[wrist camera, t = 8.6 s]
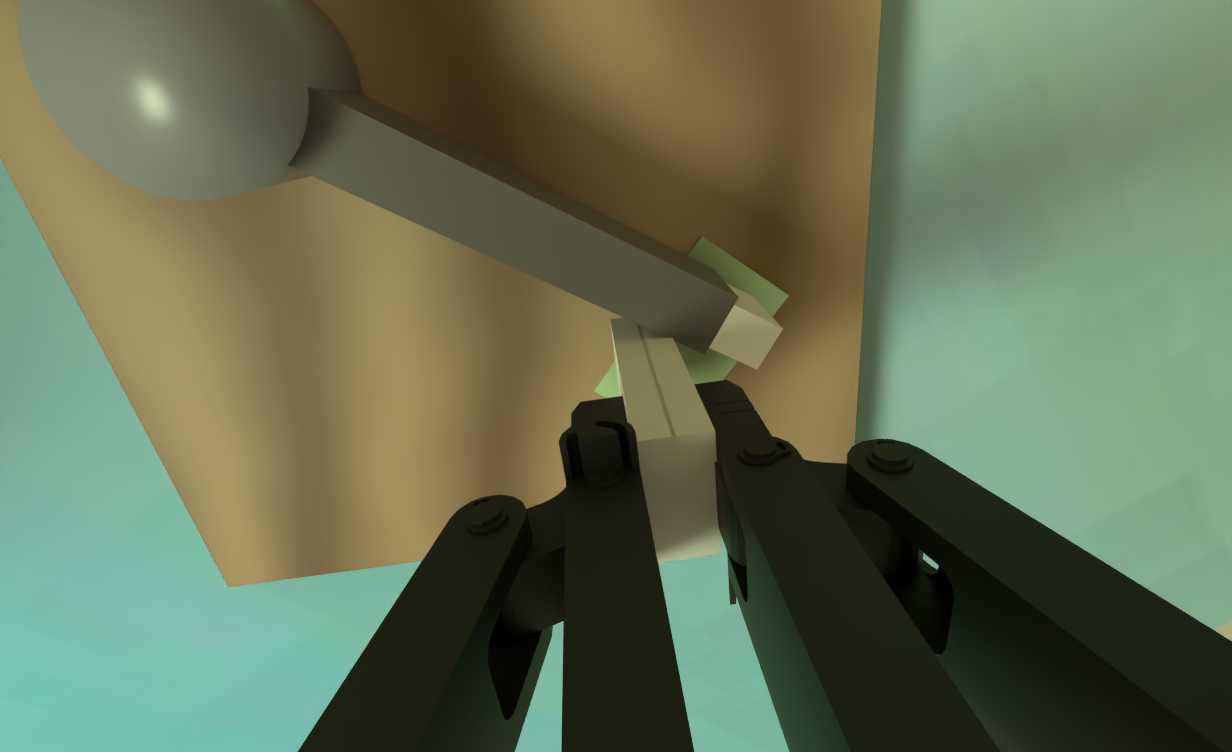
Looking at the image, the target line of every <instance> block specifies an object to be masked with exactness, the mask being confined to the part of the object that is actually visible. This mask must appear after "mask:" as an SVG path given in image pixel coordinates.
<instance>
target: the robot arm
mask: <svg viewBox="0 0 1232 752" xmlns="http://www.w3.org/2000/svg"><path fill="white" fill-rule="evenodd" d="M610 324H611V331H612V339H613V347H614V354H615V362H616V369H617V377H618V385H619V392H620V396H618V397H611V398H604V399H596V400H589V401H582V402H580V403H579V404H578V405H577V407H576V408H575V409H574V411H573V412H572V413H571V427H569V428H568V429H567V430H566V431H565V432H564V433H562V435H561V437H560V440H559V447H560V452H561V458H562V463H563V468H564V474H565V479H566V487H565V488H564V489H563V490H562V491H561V492H560V493H559V494H558V495H556V496H555V497H553V498H552V499H550V500H548V501H546V502H543V503H541V504H539V505H536V506H533V507H530V508H527V509H526V508H525V506H524V504H523V502H522V501H520V500H519V499H517V498H515V497H513V496H507V495H493V496H485V497H482V498H480V499H476V500H474V501H471V502H469V503H468V504H466V505H465V506H463V507H461V508H460V509H458V510H457V511H456V513H455V514H454V515H453V516H452V517H451V518H450V519H449V521H448V522H447V524H446V525H445V527H444V528H443V530H442V531H441V533H440V534H439V536H438V537H437V539H436V541H435V542H434V544H433V545H432V547H431V548H430V550H429V551H428V553H427V554H426V556H425V557H424V559H423V560H422V562H421V564H420V565H419V567H418V568H417V570H416V571H415V573H414V574H413V576H412V577H411V579H410V580H409V582H408V584H407V585H406V587H405V588H404V590H403V591H402V593H401V594H400V596H399V597H398V599H397V600H396V602H395V603H394V605H393V607H392V608H391V610H390V611H389V613H388V614H387V616H386V617H385V619H384V620H383V622H382V623H381V625H380V626H379V628H378V630H377V631H376V633H375V634H374V636H373V637H372V639H371V640H370V642H369V643H368V645H367V646H366V648H365V649H364V651H363V653H362V654H361V656H360V657H359V659H358V660H357V662H356V663H355V665H354V666H353V668H352V669H351V671H350V672H349V674H348V676H347V677H346V679H345V680H344V682H343V683H342V685H341V686H340V688H339V689H338V691H337V692H336V694H335V695H334V697H333V699H332V700H331V702H330V703H329V705H328V706H327V708H326V709H325V711H324V712H323V714H322V715H321V717H320V718H319V720H318V722H317V723H316V725H315V726H314V728H313V729H312V731H311V732H310V734H309V735H308V737H307V738H306V740H305V741H304V743H303V745H302V746H301V748H300V749H299V751H298V752H515V749H516V746H517V743H518V740H519V737H520V734H521V730H522V727H523V724H524V721H525V718H526V715H527V712H528V709H529V706H530V702H531V699H532V696H533V693H534V690H535V687H536V684H537V681H538V678H539V674H540V671H541V668H542V665H543V662H544V659H545V656H546V653H547V650H548V647H549V643H550V640H551V637H552V628H553V625H555V624H557V623H559V622H562V621H564V638H563V698H562V752H694V749H693V743H692V738H691V733H690V728H689V722H688V717H687V712H686V707H685V702H684V696H683V691H682V686H681V681H680V675H679V670H678V665H677V660H676V655H675V649H674V644H673V639H672V634H671V628H670V623H669V618H668V613H667V608H666V602H665V597H664V592H663V587H662V581H661V576H660V571H659V566H658V563H661V562H668V561H675V560H682V559H689V558H696V557H703V556H710V555H717V554H722V544H721V535H722V538H723V541H724V544H725V547H726V549H727V554H728V574H729V594H730V605H731V604H736V596H737V599H738V602H739V605H740V608H741V611H742V614H743V617H744V620H745V623H746V626H747V629H748V632H749V634H750V637H751V640H752V643H753V646H754V649H755V652H756V655H757V658H758V661H759V664H760V667H761V670H762V672H763V675H764V678H765V681H766V684H767V687H768V690H769V693H770V696H771V699H772V702H773V705H774V708H775V710H776V713H777V716H778V719H779V722H780V725H781V728H782V731H783V734H784V737H785V740H786V743H787V746H788V748H789V751H790V752H1232V641H1230V640H1229V639H1227V638H1225V637H1224V636H1222V635H1220V634H1219V633H1217V632H1216V631H1214V630H1212V629H1211V628H1209V627H1208V626H1206V625H1204V624H1203V623H1201V622H1200V621H1198V620H1196V619H1195V618H1193V617H1191V616H1190V615H1188V614H1187V613H1185V612H1183V611H1182V610H1180V609H1179V608H1177V607H1175V606H1174V605H1172V604H1170V603H1169V602H1167V601H1166V600H1164V599H1162V598H1161V597H1159V596H1158V595H1156V594H1154V593H1153V592H1151V591H1150V590H1148V589H1146V588H1145V587H1143V586H1141V585H1140V584H1138V583H1137V582H1135V581H1133V580H1132V579H1130V578H1129V577H1127V576H1125V575H1124V574H1122V573H1120V572H1119V571H1117V570H1116V569H1114V568H1112V567H1111V566H1109V565H1108V564H1106V563H1104V562H1103V561H1101V560H1100V559H1098V558H1096V557H1095V556H1093V555H1091V554H1090V553H1088V552H1087V551H1085V550H1083V549H1082V548H1080V547H1079V546H1077V545H1075V544H1074V543H1072V542H1071V541H1069V540H1067V539H1066V538H1064V537H1062V536H1061V535H1059V534H1058V533H1056V532H1054V531H1053V530H1051V529H1050V528H1048V527H1046V526H1045V525H1043V524H1041V523H1040V522H1038V521H1037V520H1035V519H1033V518H1032V517H1030V516H1029V515H1027V514H1025V513H1024V512H1022V511H1021V510H1019V509H1017V508H1016V507H1014V506H1012V505H1011V504H1009V503H1008V502H1006V501H1004V500H1003V499H1001V498H1000V497H998V496H996V495H995V494H993V493H992V492H990V491H988V490H987V489H985V488H983V487H982V486H980V485H979V484H977V483H975V482H974V481H972V480H971V479H969V478H967V477H966V476H964V475H962V474H961V473H959V472H958V471H956V470H954V469H953V468H951V467H950V466H948V465H946V464H945V463H943V462H942V461H940V460H938V459H937V458H935V457H933V456H932V455H930V454H929V453H927V452H925V451H924V450H922V449H920V448H918V447H916V446H913V445H911V444H909V443H905V442H900V441H896V440H892V439H874V440H868V441H863V442H860V443H858V444H856V445H854V446H852V448H851V449H850V450H849V452H848V453H847V463H827V462H816V461H809V460H805V459H803V458H802V456H801V455H800V453H799V452H798V450H797V449H796V448H795V447H794V446H793V445H792V444H791V443H789V442H788V441H785V440H783V439H780V438H778V437H773V436H772V435H771V434H770V432H769V430H768V429H767V427H766V426H765V424H764V422H763V421H762V419H761V418H760V416H759V414H758V413H757V411H756V410H755V408H754V406H753V405H752V403H751V402H750V401H749V398H748V397H747V395H746V394H745V392H744V390H743V389H742V388H741V387H739V386H737V385H736V384H734V383H732V382H730V381H729V380H722V381H715V382H707V383H700V384H694V383H693V381H692V379H691V377H690V374H689V372H688V370H687V368H686V366H685V363H684V361H683V359H682V357H681V355H680V352H679V350H678V348H677V346H676V344H675V341H674V339H673V338H667V337H665V336H663V335H661V334H658V333H656V332H654V331H652V330H650V329H647V328H645V327H643V326H641V325H639V324H636V323H634V322H632V321H630V320H628V319H625V318H623V317H622V318H615V319H610ZM923 553H925V554H926V555H927V556H928V557H930V558H931V559H932V560H933V561H934V562H936V563H937V564H938V565H939V568H938V570H937V569H935V568H934V567H932V566H931V565H929V564H928V563H927V562H926V561H925V560H923Z"/></svg>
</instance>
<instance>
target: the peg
mask: <svg viewBox="0 0 1232 752" xmlns="http://www.w3.org/2000/svg"><path fill="white" fill-rule="evenodd" d="M17 27H18V35H19V43H20V48H21V52H22V56H23V60H24V64H25V66H26V69H27V72H28V74H29V77H30V80H31V82H32V84H33V86H34V88H35V90H36V92H37V94H38V96H39V98H40V100H41V102H42V103H43V105H44V107H45V108H46V110H47V111H48V113H49V115H50V116H51V117H52V119H53V120H54V121H55V123H56V124H57V125H58V127H59V128H60V129H61V131H62V132H63V133H64V134H65V135H66V136H67V137H68V138H69V140H70V141H71V142H72V143H73V144H74V145H75V146H76V147H77V148H78V149H79V150H80V151H81V152H83V153H84V154H85V155H86V156H87V157H88V158H89V159H90V160H92V161H93V162H94V163H96V164H97V165H98V166H100V167H101V168H102V169H104V170H105V171H106V172H108V173H110V174H111V175H113V176H115V177H116V178H118V179H119V180H121V181H123V182H125V183H127V184H129V185H131V186H133V187H135V188H138V189H140V190H143V191H146V192H148V193H151V194H154V195H158V196H162V197H166V198H170V199H178V200H186V201H198V200H209V199H216V198H221V197H225V196H229V195H233V194H238V193H242V192H246V191H251V190H255V189H259V188H263V187H268V186H272V185H276V184H280V183H285V182H289V181H293V180H297V179H302V178H306V177H309V176H313V177H315V178H317V179H319V180H322V181H324V182H326V183H328V184H330V185H333V186H335V187H337V188H339V189H341V190H344V191H346V192H348V193H350V194H352V195H355V196H357V197H359V198H361V199H363V200H366V201H368V202H370V203H372V204H374V205H377V206H379V207H381V208H383V209H385V210H388V211H390V212H392V213H394V214H396V215H399V216H401V217H403V218H405V219H407V220H410V221H412V222H414V223H416V224H418V225H421V226H423V227H425V228H427V229H429V230H432V231H434V232H436V233H438V234H440V235H443V236H445V237H447V238H449V239H451V240H454V241H456V242H458V243H460V244H462V245H465V246H467V247H469V248H471V249H473V250H476V251H478V252H480V253H482V254H484V255H487V256H489V257H491V258H493V259H495V260H498V261H500V262H502V263H504V264H506V265H509V266H511V267H513V268H515V269H517V270H520V271H522V272H524V273H526V274H528V275H531V276H533V277H535V278H537V279H539V280H542V281H544V282H546V283H548V284H551V285H553V286H555V287H557V288H559V289H562V290H564V291H566V292H568V293H570V294H573V295H575V296H577V297H579V298H581V299H584V300H586V301H588V302H590V303H592V304H595V305H597V306H599V307H601V308H603V309H606V310H608V311H610V312H612V313H614V314H617V315H619V316H621V317H623V318H625V319H628V320H630V321H632V322H634V323H636V324H639V325H641V326H643V327H645V328H647V329H650V330H652V331H654V332H656V333H658V334H661V335H663V336H665V337H667V338H673V339H674V341H676V342H678V343H680V344H683V345H685V346H687V347H689V348H691V349H694V350H696V351H698V352H700V353H702V354H706V352H707V350H708V349H709V348H711V349H713V350H715V351H717V352H719V353H722V354H724V355H726V356H728V357H730V358H732V359H735V360H737V361H739V362H741V363H743V364H746V365H748V366H750V367H752V368H754V369H756V370H757V369H758V368H759V366H760V365H761V363H762V361H763V360H764V358H765V357H766V355H767V354H768V352H769V350H770V349H771V347H772V346H773V344H774V343H775V341H776V339H777V338H778V336H779V335H780V333H781V331H782V330H783V328H782V327H781V326H780V325H779V324H778V323H777V321H776V320H775V319H774V318H773V317H772V316H771V315H770V314H769V313H768V312H767V311H766V310H765V309H764V308H763V307H762V306H761V305H760V304H759V303H758V302H757V301H756V300H755V298H754V297H753V296H752V295H750V294H747V293H745V292H743V291H741V290H739V289H737V288H735V287H733V286H731V285H729V284H727V283H726V282H725V281H724V280H723V279H722V278H721V277H720V276H719V274H718V273H717V272H716V271H715V270H714V269H713V268H711V267H709V266H707V265H705V264H703V263H701V262H699V261H697V260H695V259H693V258H691V257H689V256H687V255H685V254H683V253H681V252H679V251H677V250H675V249H673V248H671V247H669V246H667V245H665V244H663V243H661V242H659V241H657V240H655V239H653V238H651V237H649V236H647V235H645V234H643V233H641V232H639V231H637V230H635V229H633V228H631V227H629V226H627V225H625V224H623V223H621V222H618V221H616V220H614V219H612V218H610V217H608V216H606V215H604V214H602V213H600V212H598V211H596V210H594V209H592V208H590V207H588V206H586V205H584V204H582V203H580V202H578V201H576V200H574V199H572V198H570V197H568V196H566V195H564V194H562V193H560V192H558V191H556V190H554V189H552V188H550V187H548V186H546V185H544V184H542V183H540V182H538V181H536V180H534V179H532V178H530V177H528V176H526V175H524V174H522V173H520V172H518V171H516V170H514V169H512V168H510V167H508V166H506V165H504V164H502V163H500V162H498V161H496V160H494V159H492V158H490V157H488V156H485V155H483V154H481V153H479V152H477V151H475V150H473V149H471V148H469V147H467V146H465V145H463V144H461V143H459V142H457V141H455V140H453V139H451V138H449V137H447V136H445V135H443V134H441V133H439V132H437V131H435V130H433V129H431V128H429V127H427V126H425V125H423V124H421V123H419V122H417V121H415V120H413V119H411V118H409V117H407V116H405V115H403V114H401V113H399V112H397V111H395V110H393V109H391V108H389V107H387V106H385V105H383V104H381V103H379V102H377V101H375V100H373V99H371V98H369V97H367V96H365V95H363V94H362V90H361V83H360V77H359V74H358V70H357V66H356V63H355V61H354V58H353V56H352V53H351V51H350V49H349V47H348V45H347V43H346V41H345V39H344V38H343V36H342V35H341V33H340V32H339V30H338V29H337V27H336V26H335V24H334V23H333V22H332V21H331V20H330V19H329V17H328V16H327V15H326V14H325V13H324V12H323V11H322V10H321V9H320V8H319V7H318V6H317V5H316V4H315V3H314V2H312V1H311V0H19V1H18V7H17Z"/></svg>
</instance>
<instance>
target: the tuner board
mask: <svg viewBox="0 0 1232 752" xmlns="http://www.w3.org/2000/svg"><path fill="white" fill-rule="evenodd" d="M18 1H19V0H0V158H1V159H2V161H3V163H4V165H5V167H6V169H7V171H8V173H9V175H10V176H11V178H12V180H13V182H14V184H15V186H16V188H17V190H18V192H19V193H20V195H21V197H22V199H23V201H24V203H25V205H26V207H27V209H28V210H29V212H30V214H31V216H32V218H33V220H34V222H35V224H36V225H37V227H38V229H39V231H40V233H41V235H42V237H43V239H44V241H45V242H46V244H47V246H48V248H49V250H50V252H51V254H52V256H53V258H54V259H55V261H56V263H57V265H58V267H59V269H60V271H61V273H62V275H63V276H64V278H65V280H66V282H67V284H68V286H69V288H70V290H71V292H72V293H73V295H74V297H75V299H76V301H77V303H78V305H79V307H80V309H81V310H82V312H83V314H84V316H85V318H86V320H87V322H88V324H89V326H90V327H91V329H92V331H93V333H94V335H95V337H96V339H97V341H98V342H99V344H100V346H101V348H102V350H103V352H104V354H105V356H106V358H107V359H108V361H109V363H110V365H111V367H112V369H113V371H114V373H115V375H116V376H117V378H118V380H119V382H120V384H121V386H122V388H123V390H124V392H125V393H126V395H127V397H128V399H129V401H130V403H131V405H132V407H133V409H134V410H135V412H136V414H137V416H138V418H139V420H140V422H141V424H142V426H143V427H144V429H145V431H146V433H147V435H148V437H149V439H150V441H151V442H152V444H153V446H154V448H155V450H156V452H157V454H158V456H159V458H160V459H161V461H162V463H163V465H164V467H165V469H166V471H167V473H168V475H169V476H170V478H171V480H172V482H173V484H174V486H175V488H176V490H177V492H178V493H179V495H180V497H181V499H182V501H183V503H184V505H185V507H186V509H187V510H188V512H189V514H190V516H191V518H192V520H193V522H194V524H195V526H196V527H197V529H198V531H199V533H200V535H201V537H202V539H203V541H204V543H205V544H206V546H207V548H208V550H209V552H210V554H211V556H212V558H213V559H214V561H215V563H216V565H217V567H218V569H219V571H220V573H221V575H222V576H223V578H224V580H225V582H226V584H227V586H228V587H233V586H240V585H247V584H255V583H262V582H270V581H277V580H284V579H292V578H299V577H306V576H314V575H321V574H328V573H336V572H343V571H351V570H358V569H365V568H373V567H380V566H387V565H395V564H402V563H409V562H417V561H422V560H423V559H424V557H425V556H426V554H427V553H428V551H429V550H430V548H431V547H432V545H433V544H434V542H435V541H436V539H437V537H438V536H439V534H440V533H441V531H442V530H443V528H444V527H445V525H446V524H447V522H448V521H449V519H450V518H451V517H452V516H453V515H454V514H455V513H456V511H457V510H458V509H460V508H461V507H463V506H465V505H466V504H468V503H469V502H471V501H474V500H476V499H480V498H482V497H485V496H493V495H507V496H513V497H515V498H517V499H519V500H520V501H522V502H523V504H524V506H525V508H526V509H527V508H530V507H533V506H536V505H539V504H541V503H543V502H546V501H548V500H550V499H552V498H553V497H555V496H556V495H558V494H559V493H560V492H561V491H562V490H563V489H564V488H565V487H566V479H565V474H564V468H563V463H562V458H561V452H560V447H559V440H560V437H561V435H562V433H564V432H565V431H566V430H567V429H568V428H569V427H571V413H572V412H573V411H574V409H575V408H576V407H577V405H578V404H579V403H580V402H582V401H589V400H596V399H604V398H611V397H618V396H620V392H619V385H618V377H617V369H616V362H615V354H614V347H613V339H612V331H611V324H610V319H615V318H622V317H621V316H619V315H617V314H614V313H612V312H610V311H608V310H606V309H603V308H601V307H599V306H597V305H595V304H592V303H590V302H588V301H586V300H584V299H581V298H579V297H577V296H575V295H573V294H570V293H568V292H566V291H564V290H562V289H559V288H557V287H555V286H553V285H551V284H548V283H546V282H544V281H542V280H539V279H537V278H535V277H533V276H531V275H528V274H526V273H524V272H522V271H520V270H517V269H515V268H513V267H511V266H509V265H506V264H504V263H502V262H500V261H498V260H495V259H493V258H491V257H489V256H487V255H484V254H482V253H480V252H478V251H476V250H473V249H471V248H469V247H467V246H465V245H462V244H460V243H458V242H456V241H454V240H451V239H449V238H447V237H445V236H443V235H440V234H438V233H436V232H434V231H432V230H429V229H427V228H425V227H423V226H421V225H418V224H416V223H414V222H412V221H410V220H407V219H405V218H403V217H401V216H399V215H396V214H394V213H392V212H390V211H388V210H385V209H383V208H381V207H379V206H377V205H374V204H372V203H370V202H368V201H366V200H363V199H361V198H359V197H357V196H355V195H352V194H350V193H348V192H346V191H344V190H341V189H339V188H337V187H335V186H333V185H330V184H328V183H326V182H324V181H322V180H319V179H317V178H315V177H313V176H309V177H306V178H302V179H297V180H293V181H289V182H285V183H280V184H276V185H272V186H268V187H263V188H259V189H255V190H251V191H246V192H242V193H238V194H233V195H229V196H225V197H221V198H216V199H209V200H198V201H186V200H178V199H170V198H166V197H162V196H158V195H154V194H151V193H148V192H146V191H143V190H140V189H138V188H135V187H133V186H131V185H129V184H127V183H125V182H123V181H121V180H119V179H118V178H116V177H115V176H113V175H111V174H110V173H108V172H106V171H105V170H104V169H102V168H101V167H100V166H98V165H97V164H96V163H94V162H93V161H92V160H90V159H89V158H88V157H87V156H86V155H85V154H84V153H83V152H81V151H80V150H79V149H78V148H77V147H76V146H75V145H74V144H73V143H72V142H71V141H70V140H69V138H68V137H67V136H66V135H65V134H64V133H63V132H62V131H61V129H60V128H59V127H58V125H57V124H56V123H55V121H54V120H53V119H52V117H51V116H50V115H49V113H48V111H47V110H46V108H45V107H44V105H43V103H42V102H41V100H40V98H39V96H38V94H37V92H36V90H35V88H34V86H33V84H32V82H31V80H30V77H29V74H28V72H27V69H26V66H25V64H24V60H23V56H22V52H21V48H20V43H19V35H18V27H17V7H18ZM311 1H312V2H314V3H315V4H316V5H317V6H318V7H319V8H320V9H321V10H322V11H323V12H324V13H325V14H326V15H327V16H328V17H329V19H330V20H331V21H332V22H333V23H334V24H335V26H336V27H337V29H338V30H339V32H340V33H341V35H342V36H343V38H344V39H345V41H346V43H347V45H348V47H349V49H350V51H351V53H352V56H353V58H354V61H355V63H356V66H357V70H358V74H359V77H360V83H361V90H362V94H363V95H365V96H367V97H369V98H371V99H373V100H375V101H377V102H379V103H381V104H383V105H385V106H387V107H389V108H391V109H393V110H395V111H397V112H399V113H401V114H403V115H405V116H407V117H409V118H411V119H413V120H415V121H417V122H419V123H421V124H423V125H425V126H427V127H429V128H431V129H433V130H435V131H437V132H439V133H441V134H443V135H445V136H447V137H449V138H451V139H453V140H455V141H457V142H459V143H461V144H463V145H465V146H467V147H469V148H471V149H473V150H475V151H477V152H479V153H481V154H483V155H485V156H488V157H490V158H492V159H494V160H496V161H498V162H500V163H502V164H504V165H506V166H508V167H510V168H512V169H514V170H516V171H518V172H520V173H522V174H524V175H526V176H528V177H530V178H532V179H534V180H536V181H538V182H540V183H542V184H544V185H546V186H548V187H550V188H552V189H554V190H556V191H558V192H560V193H562V194H564V195H566V196H568V197H570V198H572V199H574V200H576V201H578V202H580V203H582V204H584V205H586V206H588V207H590V208H592V209H594V210H596V211H598V212H600V213H602V214H604V215H606V216H608V217H610V218H612V219H614V220H616V221H618V222H621V223H623V224H625V225H627V226H629V227H631V228H633V229H635V230H637V231H639V232H641V233H643V234H645V235H647V236H649V237H651V238H653V239H655V240H657V241H659V242H661V243H663V244H665V245H667V246H669V247H671V248H673V249H675V250H677V251H679V252H681V253H683V254H685V255H687V256H689V257H691V258H693V259H695V260H697V261H699V262H701V263H703V264H705V265H707V266H709V267H711V268H713V269H714V270H715V271H716V272H717V273H718V274H719V276H720V277H721V278H722V279H723V280H724V281H725V282H726V283H727V284H729V285H731V286H733V287H735V288H737V289H739V290H741V291H743V292H745V293H747V294H750V295H752V296H753V297H754V298H755V300H756V301H757V302H758V303H759V304H760V305H761V306H762V307H763V308H764V309H765V310H766V311H767V312H768V313H769V314H770V315H771V316H772V317H773V318H774V319H775V320H776V321H777V323H778V324H779V325H780V326H781V327H782V328H783V330H782V331H781V333H780V335H779V336H778V338H777V339H776V341H775V343H774V344H773V346H772V347H771V349H770V350H769V352H768V354H767V355H766V357H765V358H764V360H763V361H762V363H761V365H760V366H759V368H758V369H757V370H756V369H754V368H752V367H750V366H748V365H746V364H743V363H741V362H739V361H737V360H735V359H732V358H730V357H728V356H726V355H724V354H722V353H719V352H717V351H715V350H713V349H711V348H709V349H708V350H707V352H706V354H702V353H700V352H698V351H696V350H694V349H691V348H689V347H687V346H685V345H683V344H680V343H678V342H676V341H675V344H676V346H677V348H678V350H679V352H680V355H681V357H682V359H683V361H684V363H685V366H686V368H687V370H688V372H689V374H690V377H691V379H692V381H693V383H694V384H700V383H707V382H715V381H722V380H729V381H730V382H732V383H734V384H736V385H737V386H739V387H741V388H742V389H743V390H744V392H745V394H746V395H747V397H748V398H749V401H750V402H751V403H752V405H753V406H754V408H755V410H756V411H757V413H758V414H759V416H760V418H761V419H762V421H763V422H764V424H765V426H766V427H767V429H768V430H769V432H770V434H771V435H772V436H773V437H778V438H780V439H783V440H785V441H788V442H789V443H791V444H792V445H793V446H794V447H795V448H796V449H797V450H798V452H799V453H800V455H801V456H802V458H803V459H805V460H809V461H816V462H827V463H847V453H848V452H849V450H850V449H851V448H852V446H854V445H855V431H856V415H857V399H858V382H859V366H860V349H861V333H862V317H863V300H864V284H865V268H866V251H867V235H868V218H869V202H870V186H871V169H872V153H873V136H874V120H875V104H876V87H877V71H878V54H879V38H880V22H881V5H882V0H311Z"/></svg>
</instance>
